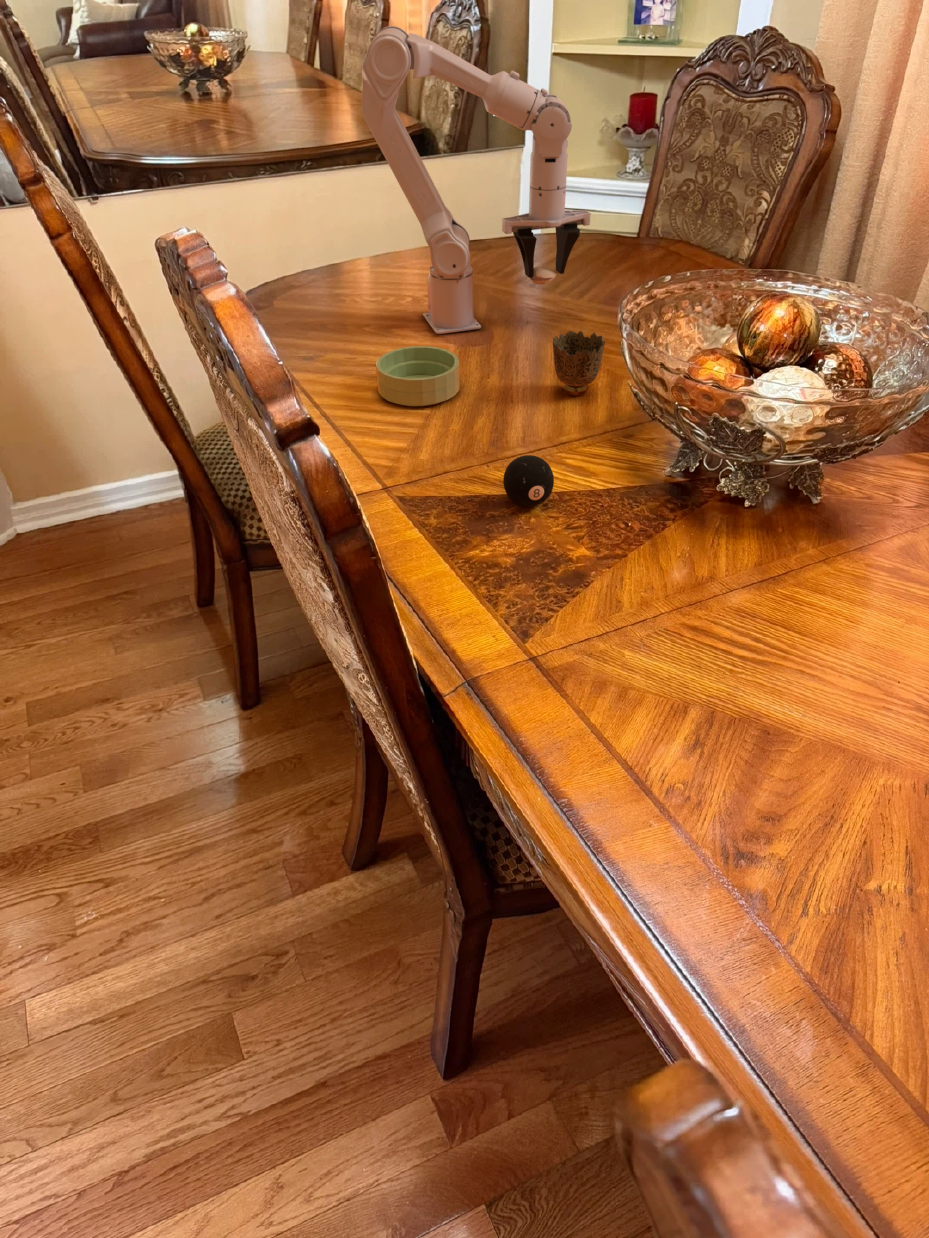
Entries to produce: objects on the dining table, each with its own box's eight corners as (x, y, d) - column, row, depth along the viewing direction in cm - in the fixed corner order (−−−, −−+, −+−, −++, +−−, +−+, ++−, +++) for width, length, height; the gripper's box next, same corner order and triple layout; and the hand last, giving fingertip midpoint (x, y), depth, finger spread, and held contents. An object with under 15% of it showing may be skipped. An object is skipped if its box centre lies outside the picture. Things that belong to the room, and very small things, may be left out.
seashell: (525, 280, 150) (526, 265, 149) (552, 276, 152) (553, 261, 150) (536, 288, 147) (536, 273, 146) (563, 284, 149) (564, 269, 147)
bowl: (371, 380, 137) (368, 352, 134) (447, 369, 140) (446, 341, 137) (388, 414, 128) (385, 384, 125) (469, 402, 130) (468, 373, 128)
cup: (542, 397, 131) (544, 345, 126) (562, 378, 136) (564, 327, 131) (589, 407, 128) (593, 353, 123) (607, 387, 133) (612, 335, 128)
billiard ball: (512, 519, 106) (512, 475, 102) (497, 494, 110) (497, 450, 106) (559, 511, 107) (562, 467, 103) (543, 486, 111) (544, 443, 108)
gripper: (512, 196, 136) (511, 286, 144) (600, 188, 139) (593, 276, 147) (498, 185, 141) (497, 273, 149) (583, 177, 144) (577, 263, 152)
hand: (544, 274), depth 149 cm, fingers closed on seashell, 5 cm apart
